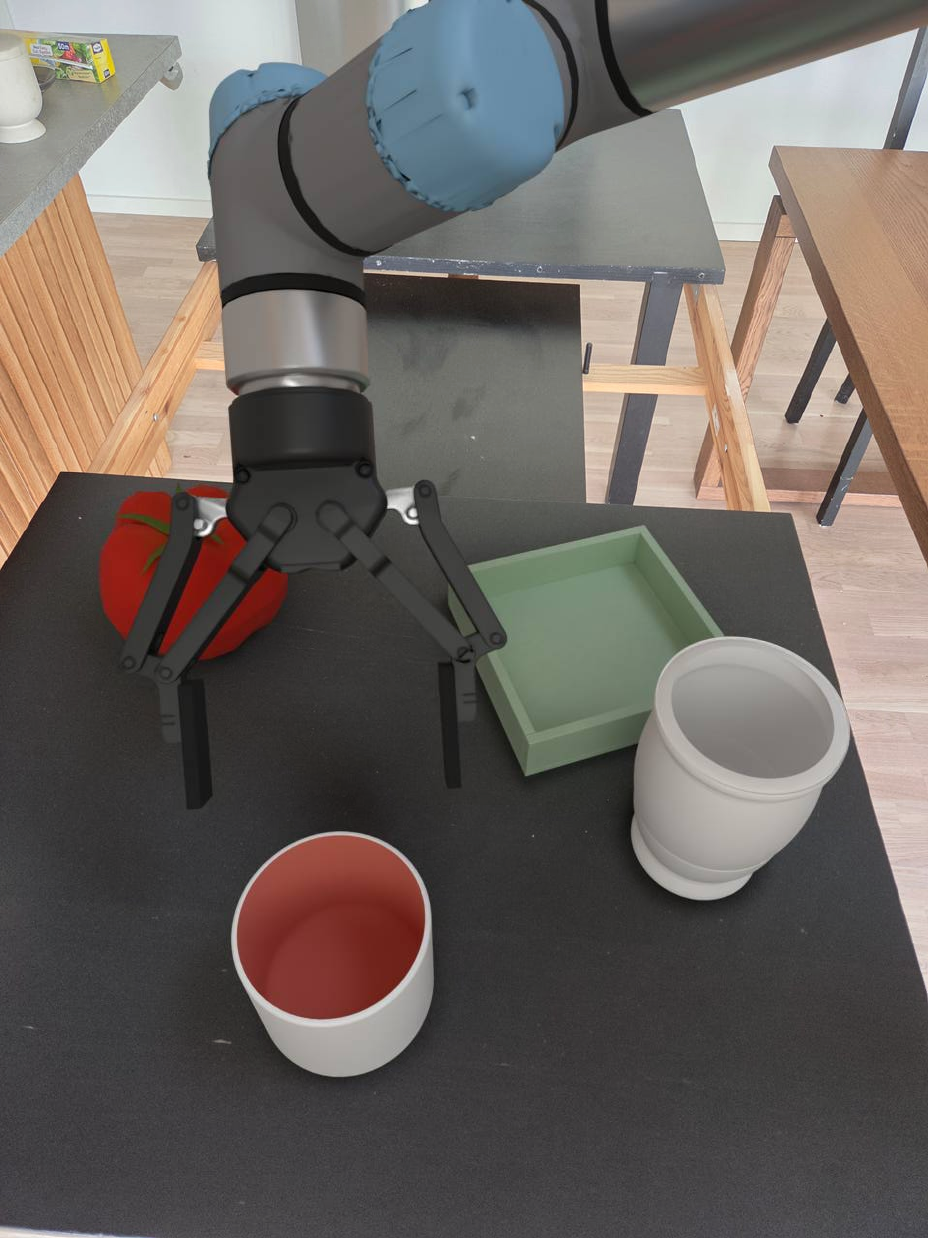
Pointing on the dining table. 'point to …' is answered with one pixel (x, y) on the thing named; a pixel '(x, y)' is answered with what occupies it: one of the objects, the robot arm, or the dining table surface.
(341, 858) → the cup
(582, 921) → the dining table surface
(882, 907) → the dining table surface
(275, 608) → the tomato
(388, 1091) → the dining table surface
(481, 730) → the dining table surface
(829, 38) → the robot arm
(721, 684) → the jar
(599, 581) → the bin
